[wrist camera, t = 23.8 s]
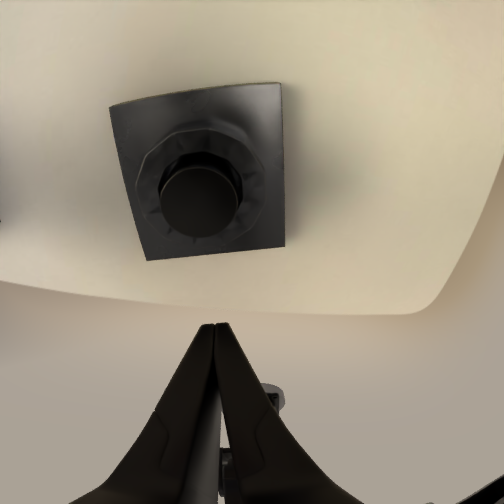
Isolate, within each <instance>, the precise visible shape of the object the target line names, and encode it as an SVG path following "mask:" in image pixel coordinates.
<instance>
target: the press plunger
mask: <svg viewBox="0 0 504 504" xmlns="http://www.w3.org/2000/svg"><path fill="white" fill-rule="evenodd" d="M237 207H238V198H237V188H236V182H235V179H234V176H233V174H232V173H231V171H230V170H229V169H228V168H227V166H225V165H224V164H223V163H221V162H220V161H218V160H216V159H213V158H210V157H205V156H197V157H191V158H188V159H186V160H184V161H182V162H180V163H179V164H177V165H176V166H175V167H174V168H173V170H172V171H171V172H170V174H169V176H168V178H167V180H166V183H165V185H164V187H163V189H162V192H161V195H160V208H161V212H162V215H163V217H164V219H165V220H166V222H167V223H168V224H169V225H170V226H171V227H172V228H173V229H174V230H176V231H177V232H179V233H181V234H183V235H185V236H189V237H194V238H205V237H210V236H213V235H216V234H218V233H220V232H222V231H223V230H224V229H226V228H227V227H228V226H229V225H230V223H231V222H232V221H233V219H234V217H235V215H236V212H237Z"/></svg>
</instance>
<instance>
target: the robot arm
mask: <svg viewBox="0 0 504 504" xmlns="http://www.w3.org/2000/svg"><path fill="white" fill-rule="evenodd" d="M221 409H223V414H224V419H225V425H226V430H227V436H228V440H229V445H230V448H220V430H221V428H220V427H221ZM218 491H219V495H220V496H221V497H224V499H225V504H364V503H362V502H361V501H359V500H358V499H356V498H355V497H353V496H352V495H350V494H349V493H348V492H346V491H345V490H343V489H342V488H341V487H339V486H338V485H336V484H335V483H334V482H333V481H332V480H331V479H330V478H329V477H328V476H326V474H325V473H324V472H323V471H322V470H321V469H320V468H319V467H318V466H317V465H316V463H315V462H314V461H313V460H312V459H311V458H310V456H309V455H308V454H307V453H306V452H305V450H304V449H303V448H302V447H301V446H300V445H299V443H298V442H297V441H296V440H295V438H294V437H293V436H292V434H291V433H290V432H289V430H288V429H287V428H286V426H285V424H284V423H283V421H282V420H281V418H280V416H279V393H269V394H266V392H265V390H264V389H263V387H262V385H261V383H260V381H259V380H258V378H257V376H256V374H255V372H254V371H253V369H252V367H251V365H250V363H249V361H248V359H247V357H246V356H245V354H244V352H243V350H242V348H241V346H240V344H239V342H238V340H237V339H236V337H235V335H234V333H233V331H232V329H231V327H230V325H229V323H226V322H225V323H216V324H215V325H214V324H204V325H201V327H200V328H199V330H198V332H197V334H196V335H195V337H194V339H193V341H192V343H191V344H190V346H189V348H188V350H187V352H186V354H185V355H184V357H183V359H182V361H181V362H180V364H179V366H178V368H177V370H176V372H175V373H174V375H173V377H172V379H171V380H170V382H169V384H168V386H167V388H166V389H165V391H164V393H163V395H162V397H161V399H160V401H159V402H158V404H157V406H156V408H155V411H154V412H153V413H152V415H151V417H150V418H149V420H148V422H147V424H146V426H145V427H144V429H143V430H142V432H141V434H140V435H139V437H138V438H137V440H136V441H135V443H134V444H133V445H132V447H131V448H130V450H129V451H128V452H127V454H126V455H125V456H124V458H123V459H122V461H121V462H120V463H119V465H118V466H117V467H116V469H115V470H114V471H113V473H112V474H111V475H110V477H109V478H108V479H107V480H106V481H105V482H104V483H103V484H102V485H100V486H99V487H98V488H96V489H94V490H93V491H91V492H89V493H87V494H85V495H84V496H82V497H80V498H78V499H76V500H74V501H73V502H71V503H69V504H218V502H217V501H218ZM427 504H433V503H427ZM456 504H504V475H502V476H500V477H499V478H497V479H495V480H494V481H492V482H491V483H489V484H487V485H486V486H484V487H483V488H481V489H480V490H478V491H477V492H475V493H473V494H472V495H470V496H468V497H467V498H465V499H463V500H462V501H460V502H458V503H456Z"/></svg>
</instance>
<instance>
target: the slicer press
mask: <svg viewBox="0 0 504 504" xmlns="http://www.w3.org/2000/svg"><path fill="white" fill-rule="evenodd" d="M109 112H110V117H111V123H112V128H113V133H114V138H115V143H116V148H117V152H118V157H119V162H120V166H121V170H122V175H123V179H124V183H125V187H126V191H127V195H128V199H129V202H130V206H131V210H132V213H133V217H134V221H135V224H136V228H137V231H138V234H139V238H140V241H141V244H142V248H143V251H144V254H145V257H146V260H147V261H151V260H160V259H170V258H180V257H189V256H199V255H209V254H219V253H229V252H238V251H248V250H258V249H268V248H278V247H285V192H284V149H283V120H282V96H281V83H278V82H265V83H248V84H235V85H224V86H215V87H206V88H198V89H191V90H185V91H178V92H172V93H167V94H161V95H156V96H151V97H146V98H141V99H137V100H132V101H128V102H124V103H120V104H116V105H113V106H111V107H109ZM197 156H205V157H210V158H213V159H216V160H218V161H220V162H221V163H223V164H224V165H225V166H227V168H228V169H229V170H230V171H231V173H232V174H233V176H234V179H235V182H236V188H237V198H238V207H237V212H236V215H235V217H234V219H233V221H232V222H231V223H230V225H229V226H228V227H227V228H226V229H224V230H223V231H222V232H220V233H218V234H216V235H213V236H210V237H205V238H194V237H189V236H185V235H183V234H181V233H179V232H177V231H176V230H174V229H173V228H172V227H171V226H170V225H169V224H168V223H167V222H166V220H165V219H164V217H163V215H162V212H161V208H160V195H161V192H162V189H163V187H164V185H165V183H166V180H167V178H168V176H169V174H170V172H171V171H172V170H173V168H174V167H175V166H176V165H177V164H179V163H180V162H182V161H184V160H186V159H188V158H191V157H197Z"/></svg>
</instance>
